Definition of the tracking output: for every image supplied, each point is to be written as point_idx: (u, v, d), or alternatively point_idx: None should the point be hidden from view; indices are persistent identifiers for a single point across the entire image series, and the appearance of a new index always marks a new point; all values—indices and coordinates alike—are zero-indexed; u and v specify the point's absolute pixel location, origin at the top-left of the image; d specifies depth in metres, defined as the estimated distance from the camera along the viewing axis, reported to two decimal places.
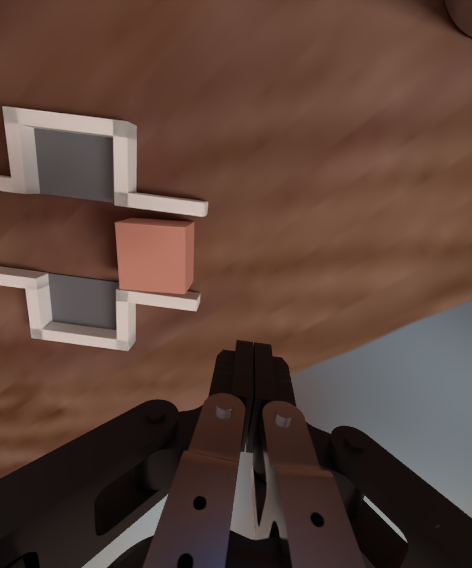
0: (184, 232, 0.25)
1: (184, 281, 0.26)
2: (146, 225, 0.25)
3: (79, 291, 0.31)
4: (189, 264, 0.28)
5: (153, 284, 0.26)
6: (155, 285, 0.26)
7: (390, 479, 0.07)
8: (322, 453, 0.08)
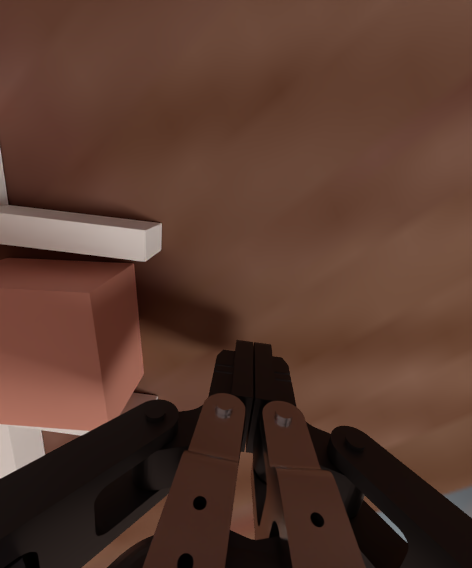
0: (89, 304, 0.10)
1: (105, 407, 0.11)
2: None
3: None
4: (123, 357, 0.13)
5: (37, 413, 0.12)
6: (43, 414, 0.12)
7: (390, 479, 0.07)
8: (322, 453, 0.08)
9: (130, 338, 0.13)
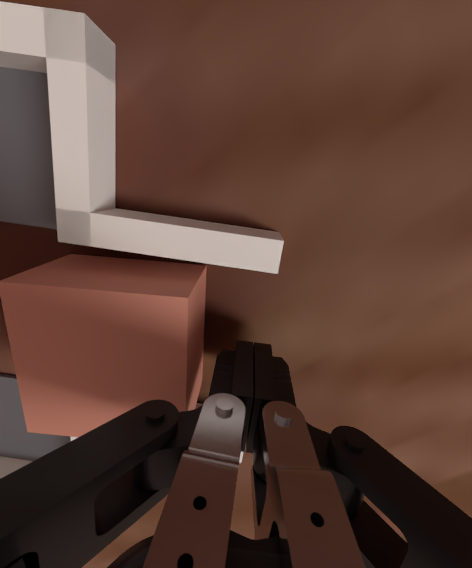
0: (185, 310, 0.09)
1: None
2: (82, 290, 0.09)
3: (2, 400, 0.15)
4: (195, 366, 0.12)
5: None
6: None
7: (390, 479, 0.07)
8: (322, 453, 0.08)
9: (199, 345, 0.13)
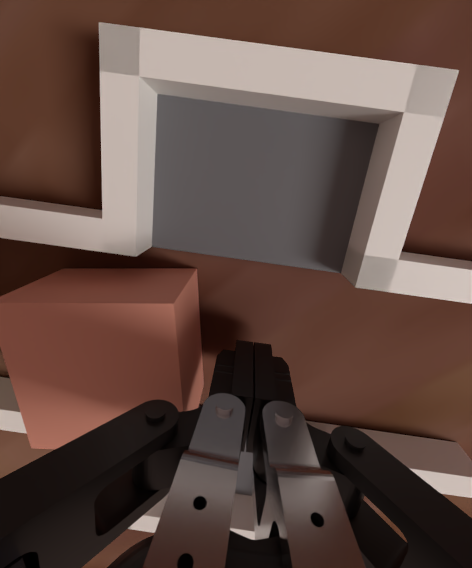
0: (172, 316, 0.09)
1: None
2: (69, 304, 0.09)
3: None
4: (192, 371, 0.12)
5: None
6: None
7: (390, 479, 0.07)
8: (322, 453, 0.08)
9: (195, 350, 0.13)
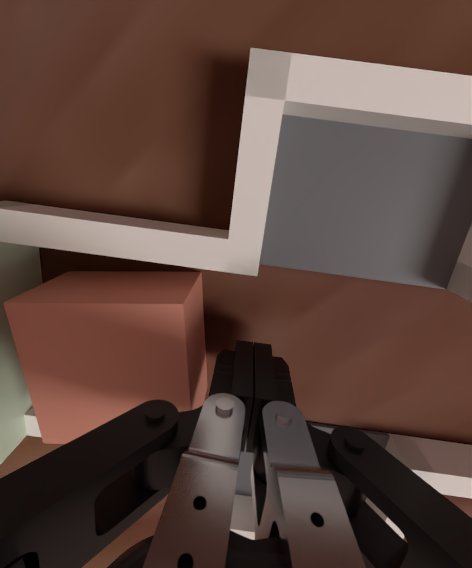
0: (181, 316, 0.10)
1: None
2: (83, 304, 0.10)
3: None
4: (198, 369, 0.12)
5: None
6: None
7: (390, 479, 0.07)
8: (322, 453, 0.08)
9: (201, 348, 0.13)
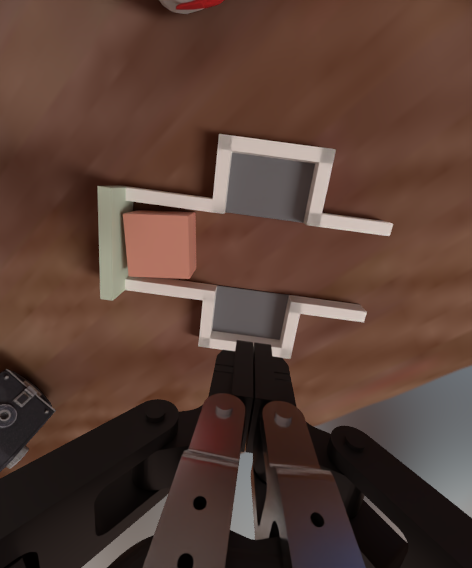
0: (187, 220, 0.27)
1: (188, 266, 0.28)
2: (152, 215, 0.27)
3: (244, 302, 0.33)
4: (192, 251, 0.30)
5: (159, 270, 0.28)
6: (162, 271, 0.28)
7: (390, 479, 0.07)
8: (322, 453, 0.08)
9: (194, 245, 0.30)
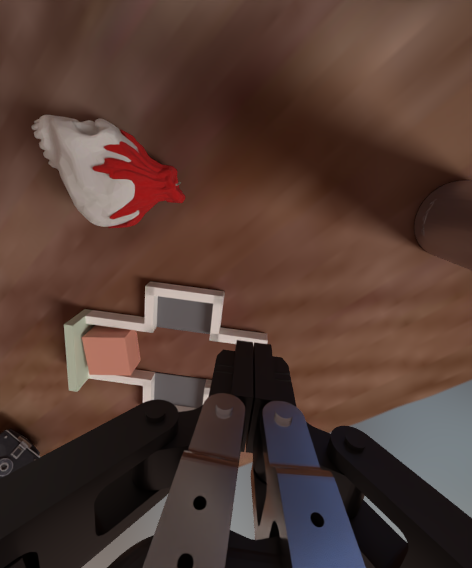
0: (124, 340, 0.40)
1: (129, 367, 0.41)
2: (101, 337, 0.40)
3: (175, 384, 0.46)
4: (133, 354, 0.42)
5: (110, 370, 0.41)
6: (111, 371, 0.41)
7: (390, 479, 0.07)
8: (322, 453, 0.08)
9: (135, 348, 0.43)
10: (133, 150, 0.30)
